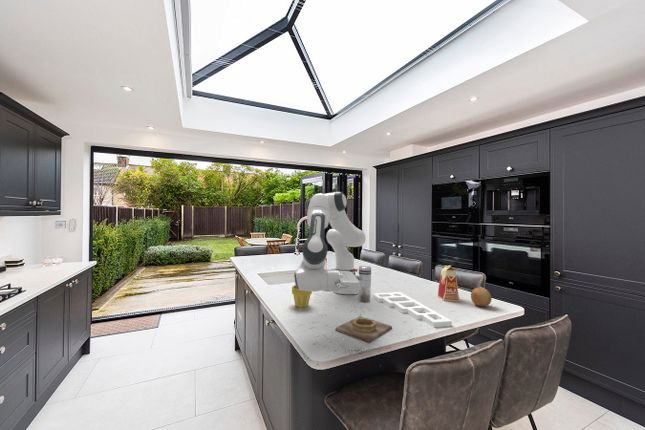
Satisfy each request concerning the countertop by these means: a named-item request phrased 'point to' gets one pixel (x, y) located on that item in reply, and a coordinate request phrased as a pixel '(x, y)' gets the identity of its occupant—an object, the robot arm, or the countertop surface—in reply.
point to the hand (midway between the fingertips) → (366, 280)
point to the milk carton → (448, 285)
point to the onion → (481, 296)
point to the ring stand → (364, 328)
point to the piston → (365, 290)
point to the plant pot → (301, 297)
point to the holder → (412, 308)
